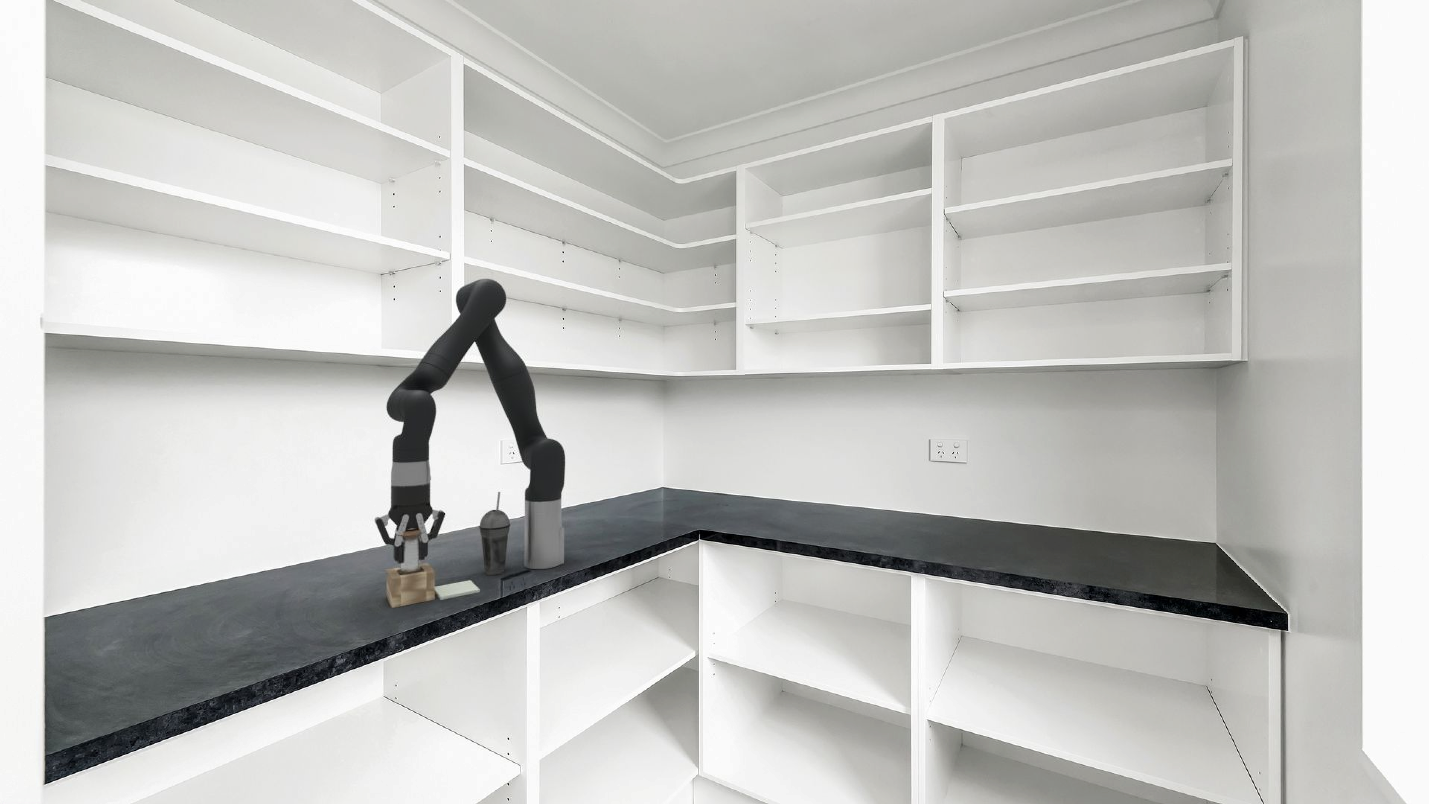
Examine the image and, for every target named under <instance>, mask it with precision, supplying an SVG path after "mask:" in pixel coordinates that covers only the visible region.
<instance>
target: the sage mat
mask: <svg viewBox="0 0 1429 804" xmlns="http://www.w3.org/2000/svg"><path fill="white" fill-rule="evenodd" d="M480 591H481V589H480V588H479V587H478V586H477V585H476V584H475V583H474V582H473V581H472V580H464V581H460V582H459V581H458V582H454V583H449V584H443V585H437V586H436V585H435V595H437V597H438V599H439V600H441V601H442V600H448V599H451V598H457V597H462V596H466V595H467V596H468V595H472V594H477V593H480Z"/></svg>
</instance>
